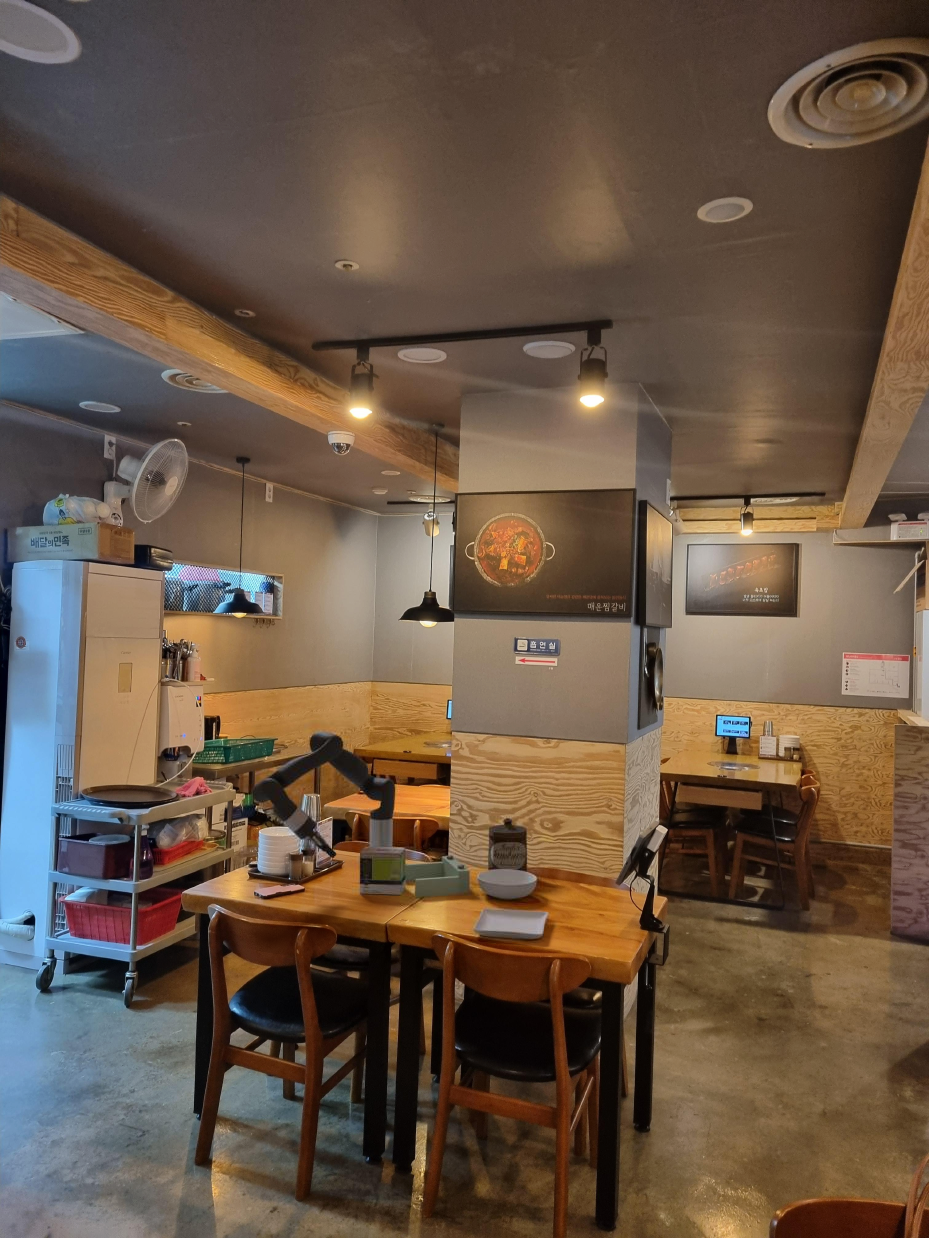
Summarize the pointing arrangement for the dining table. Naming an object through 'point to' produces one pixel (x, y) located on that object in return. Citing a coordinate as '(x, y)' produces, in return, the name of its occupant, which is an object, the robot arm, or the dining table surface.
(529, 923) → the salad plate
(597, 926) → the dining table surface
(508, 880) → the serving bowl
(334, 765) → the robot arm
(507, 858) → the wooden container
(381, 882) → the tea box
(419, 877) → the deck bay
